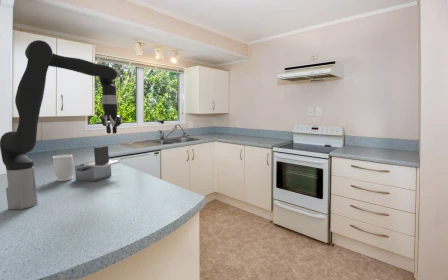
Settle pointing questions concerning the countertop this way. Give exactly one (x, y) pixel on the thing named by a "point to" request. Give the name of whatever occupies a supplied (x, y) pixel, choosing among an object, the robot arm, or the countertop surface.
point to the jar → (63, 167)
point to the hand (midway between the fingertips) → (111, 133)
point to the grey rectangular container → (91, 172)
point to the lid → (101, 158)
